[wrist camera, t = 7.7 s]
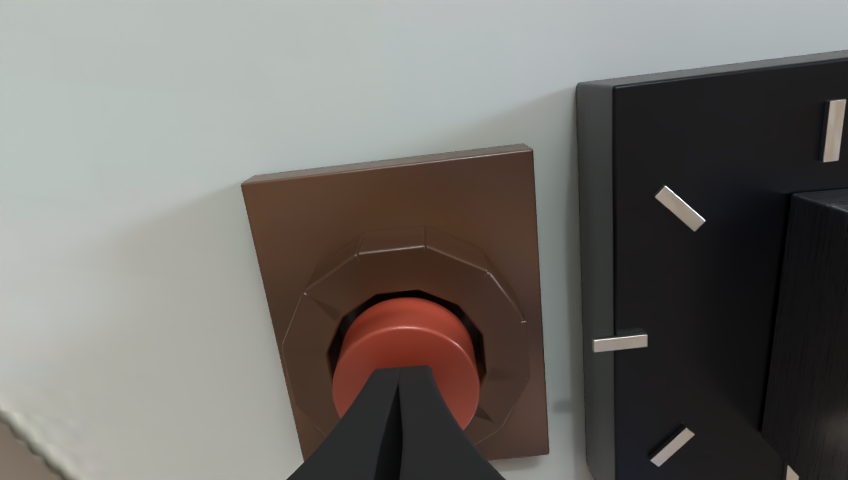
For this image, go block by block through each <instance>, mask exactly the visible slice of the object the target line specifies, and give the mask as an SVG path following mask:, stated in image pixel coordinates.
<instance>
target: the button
mask: <svg viewBox="0 0 848 480" xmlns="http://www.w3.org/2000/svg"><path fill="white" fill-rule="evenodd" d="M420 365H428V366H429V367H430V368H431V369H432V372H433V376H434V379H435V382H436V384H437V387H438V389H439V391H440V393H441V395H442V397H443V399H444V401H445V403H446V405H447V406H448V408H449V410H450V411H451V413H452V415H453V416H454V418H455V419H456V421H457V422H458V424H459V426H460V427H461V428H462V430H464V429H465V428H466V427H467V425H468V424H469V422H470V421H471V419H472V418H473V416H474V414H475V412H476V409H477V406H478V403H479V398H480V380H479V374H478V369H477V364H476V359H475V354H474V349H473V344H472V341H471V338H470V335H469V333H468V331H467V329H466V328H465V326H464V325H463V323H462V322H461V321H460V320H459V319H458V318H457V316H456V315H454V314H453V313H452V312H451V311H449V310H448V309H446V308H445V307H443V306H441V305H439V304H437V303H435V302H432V301H429V300H426V299H421V298H414V297H400V298H394V299H389V300H386V301H382V302H380V303H378V304H375V305H373V306H372V307H370V308H368V309H367V310H365V311H364V312H363V313H362V314H360V315H359V316H358V317H357V318H356V319H355V320H354V322H353V323H352V324H351V326H350V327H349V329H348V331H347V333H346V335H345V338H344V340H343V344H342V347H341V351H340V354H339V358H338V361H337V365H336V368H335V372H334V376H333V382H332V394H333V401H334V404H335V408H336V410H337V412H338V415H339V417H340V418H342V417H343V415H344V414H345V412H346V411H347V410H348V408H349V407H350V406H351V404H352V403H353V401H354V400H355V398H356V397H357V395H358V394H359V392H360V391H361V389H362V388H363V386H364V384H365V383H366V381H367V380H368V378H369V376H370V375H371V373H372V372H373V371H374V370H375V369H382V368H394V367H407V366H420Z"/></svg>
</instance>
